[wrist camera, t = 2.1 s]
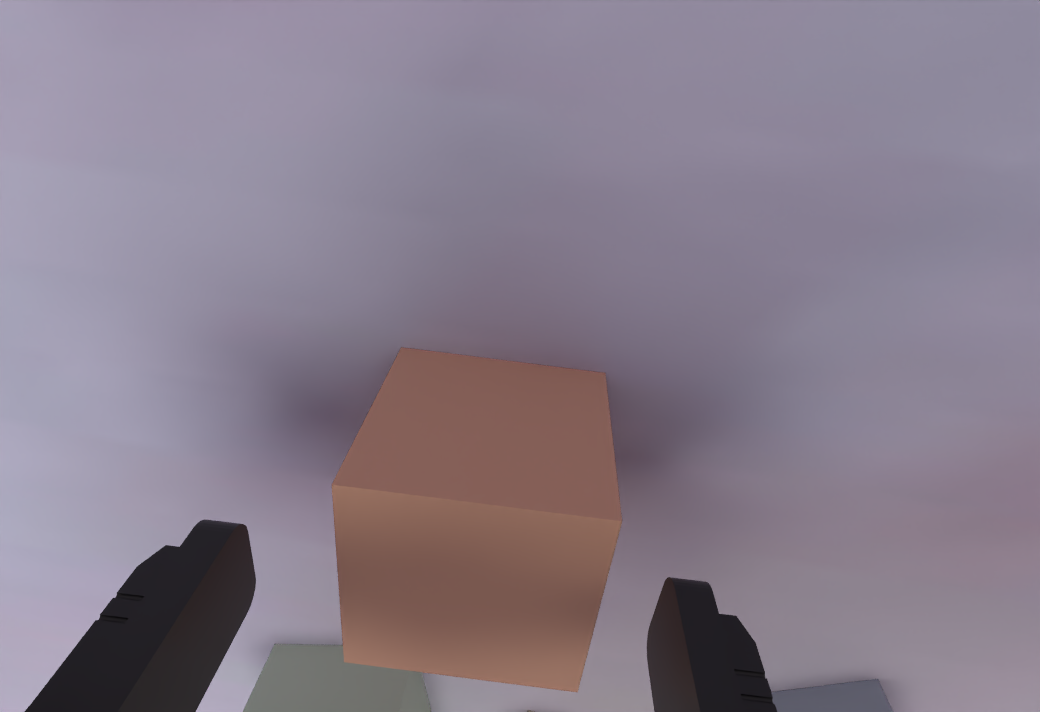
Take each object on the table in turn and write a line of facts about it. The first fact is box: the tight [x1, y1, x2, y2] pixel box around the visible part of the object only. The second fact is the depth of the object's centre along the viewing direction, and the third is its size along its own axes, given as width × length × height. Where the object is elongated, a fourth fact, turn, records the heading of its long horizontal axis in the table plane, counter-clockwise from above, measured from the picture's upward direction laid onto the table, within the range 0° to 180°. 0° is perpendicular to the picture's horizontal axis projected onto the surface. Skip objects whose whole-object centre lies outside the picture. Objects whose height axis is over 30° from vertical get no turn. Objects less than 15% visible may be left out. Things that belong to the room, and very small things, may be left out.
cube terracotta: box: [332, 347, 622, 692], centre depth 14 cm, size 5×5×5 cm
